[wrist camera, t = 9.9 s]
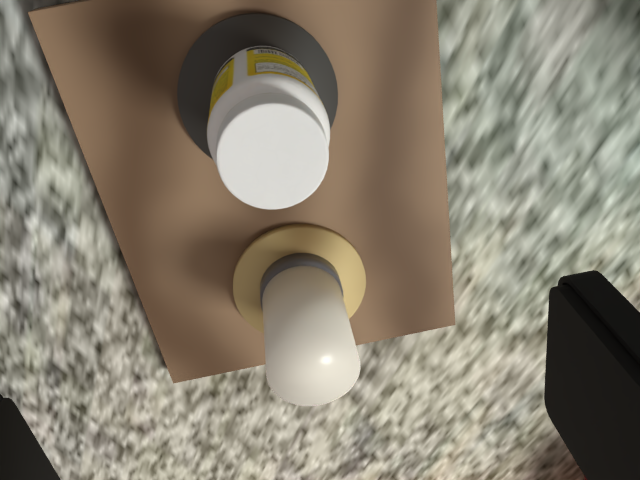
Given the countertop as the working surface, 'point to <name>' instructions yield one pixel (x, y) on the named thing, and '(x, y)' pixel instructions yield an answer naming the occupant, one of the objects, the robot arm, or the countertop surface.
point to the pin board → (227, 210)
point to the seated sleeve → (307, 331)
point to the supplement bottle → (268, 129)
